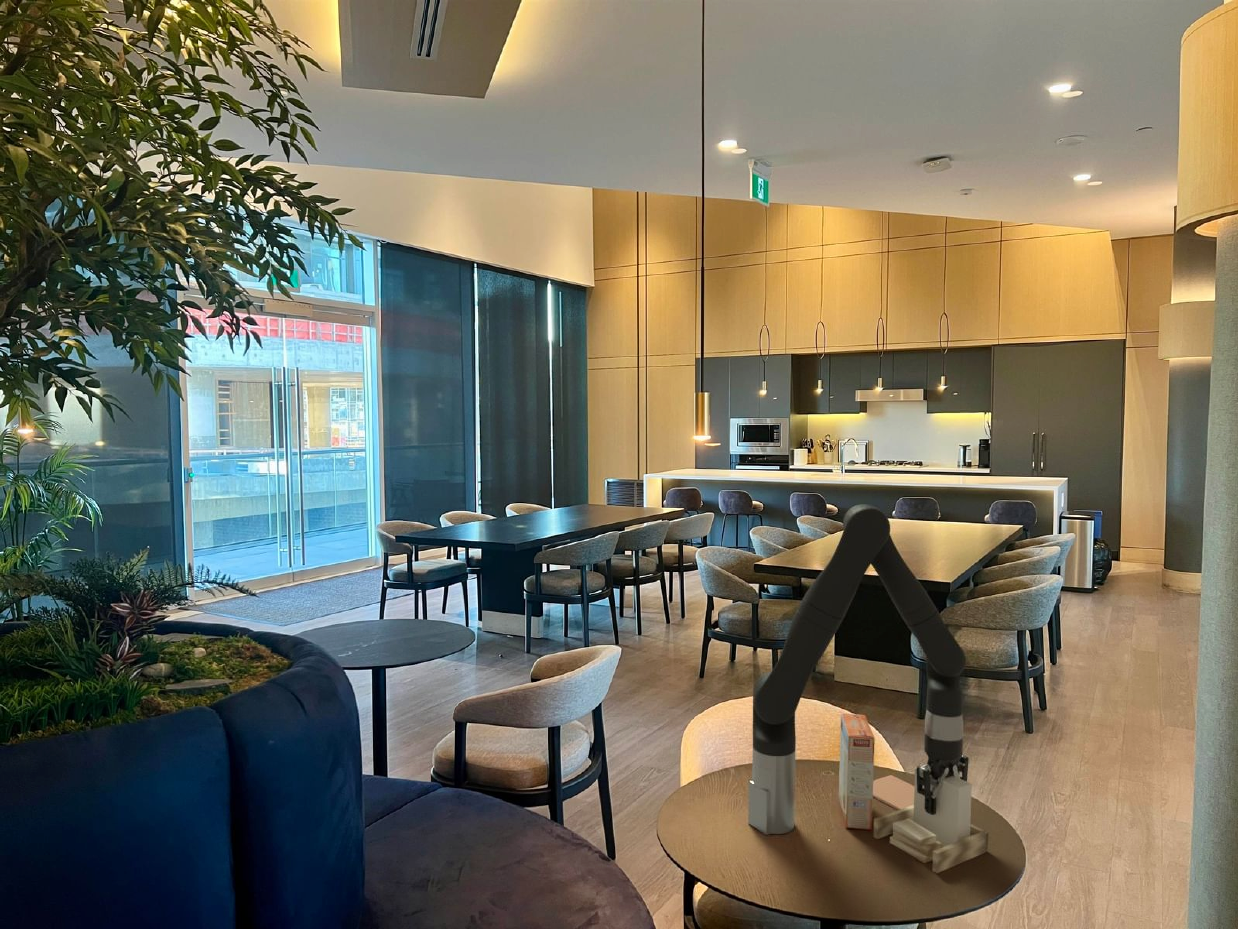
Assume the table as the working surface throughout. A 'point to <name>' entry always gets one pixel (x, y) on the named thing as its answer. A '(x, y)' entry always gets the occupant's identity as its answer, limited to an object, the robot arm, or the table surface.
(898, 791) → the terracotta tile
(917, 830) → the offcut stack
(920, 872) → the table surface
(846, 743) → the cracker box
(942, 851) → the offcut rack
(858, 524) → the robot arm
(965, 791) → the white block
